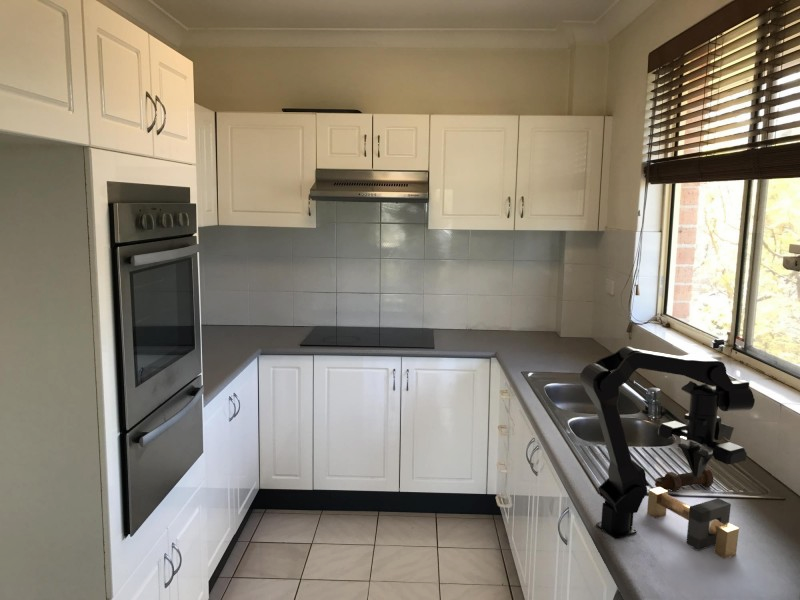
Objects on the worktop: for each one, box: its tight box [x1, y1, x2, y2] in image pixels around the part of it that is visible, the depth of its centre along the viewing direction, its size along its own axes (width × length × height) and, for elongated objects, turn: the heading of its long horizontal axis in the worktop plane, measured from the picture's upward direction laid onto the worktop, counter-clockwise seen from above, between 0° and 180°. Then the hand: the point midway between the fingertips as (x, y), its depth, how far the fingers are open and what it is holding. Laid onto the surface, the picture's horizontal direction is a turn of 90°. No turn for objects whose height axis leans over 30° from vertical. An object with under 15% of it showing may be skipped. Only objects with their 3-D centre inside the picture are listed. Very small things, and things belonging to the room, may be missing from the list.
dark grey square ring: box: [685, 497, 732, 551], centre depth 132 cm, size 3×9×9 cm, turn 116°
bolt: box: [654, 466, 714, 492], centre depth 158 cm, size 6×5×15 cm
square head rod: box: [646, 487, 740, 560], centre depth 136 cm, size 20×4×6 cm, turn 26°
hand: (696, 476), depth 138 cm, fingers closed
